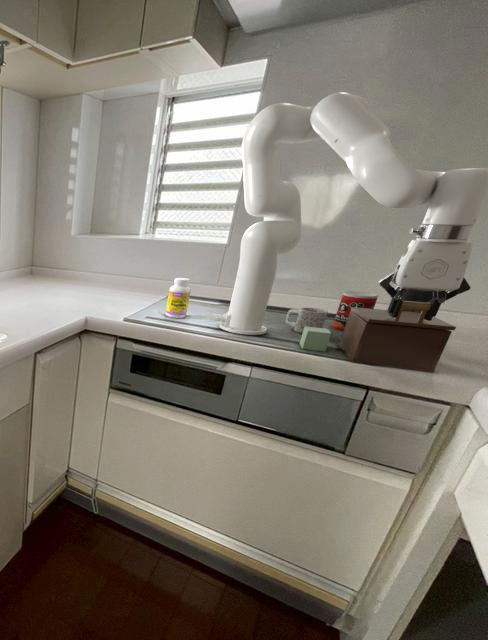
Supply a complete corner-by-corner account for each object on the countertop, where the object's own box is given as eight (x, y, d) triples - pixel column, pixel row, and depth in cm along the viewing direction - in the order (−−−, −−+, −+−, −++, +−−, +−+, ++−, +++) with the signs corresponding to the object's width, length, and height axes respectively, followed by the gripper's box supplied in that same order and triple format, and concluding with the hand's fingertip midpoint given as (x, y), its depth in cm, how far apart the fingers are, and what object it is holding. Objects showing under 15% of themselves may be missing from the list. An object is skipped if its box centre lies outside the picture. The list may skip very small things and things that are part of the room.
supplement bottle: (165, 317, 139) (172, 279, 134) (164, 313, 145) (170, 276, 140) (186, 319, 137) (194, 280, 132) (184, 314, 143) (191, 277, 138)
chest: (433, 372, 92) (452, 331, 88) (352, 361, 98) (366, 323, 95) (409, 353, 104) (425, 316, 100) (338, 345, 110) (350, 310, 107)
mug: (325, 332, 121) (332, 310, 119) (314, 335, 118) (321, 313, 116) (288, 324, 129) (294, 304, 127) (278, 327, 126) (283, 307, 124)
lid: (454, 330, 87) (465, 306, 86) (367, 322, 94) (376, 300, 92) (425, 316, 100) (434, 295, 98) (350, 310, 106) (357, 290, 105)
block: (302, 348, 108) (307, 330, 106) (299, 343, 112) (304, 326, 110) (325, 351, 105) (331, 333, 103) (321, 346, 109) (327, 328, 108)
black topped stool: (384, 338, 116) (404, 286, 110) (412, 342, 112) (435, 288, 106) (385, 343, 111) (407, 289, 106) (415, 347, 108) (439, 292, 102)
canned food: (325, 325, 128) (337, 291, 124) (351, 325, 128) (363, 291, 124) (344, 332, 121) (357, 296, 117) (372, 332, 121) (385, 296, 117)
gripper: (395, 233, 86) (365, 317, 93) (512, 236, 78) (469, 326, 85) (384, 232, 92) (356, 310, 99) (491, 234, 84) (453, 318, 91)
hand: (409, 317), depth 92 cm, fingers closed on lid, 5 cm apart
